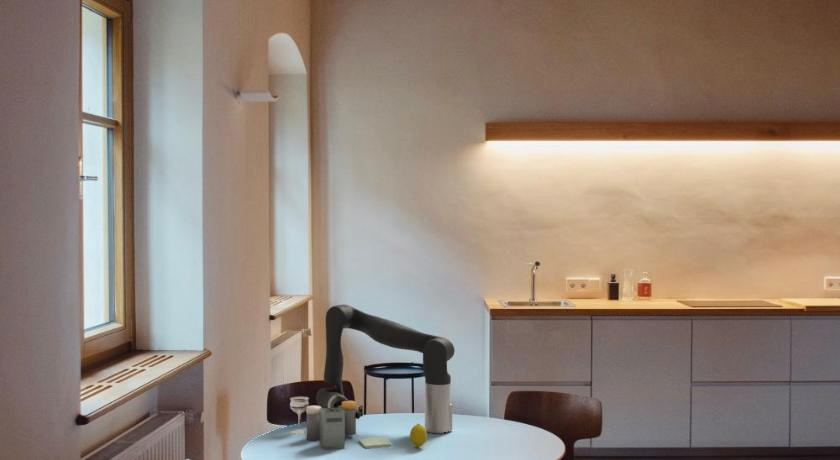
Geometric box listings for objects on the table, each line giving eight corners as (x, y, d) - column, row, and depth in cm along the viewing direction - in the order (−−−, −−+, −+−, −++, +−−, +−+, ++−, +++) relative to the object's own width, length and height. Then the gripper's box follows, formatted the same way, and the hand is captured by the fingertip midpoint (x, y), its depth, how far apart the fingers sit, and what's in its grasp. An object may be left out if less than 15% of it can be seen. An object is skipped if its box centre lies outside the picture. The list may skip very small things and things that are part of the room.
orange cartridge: (354, 431, 275) (354, 400, 275) (357, 434, 270) (357, 403, 270) (340, 432, 273) (340, 401, 273) (343, 436, 269) (343, 404, 269)
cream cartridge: (319, 436, 272) (319, 405, 272) (322, 440, 267) (322, 408, 267) (304, 437, 270) (305, 406, 271) (307, 441, 266) (307, 409, 266)
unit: (339, 442, 265) (339, 405, 265) (344, 448, 257) (345, 410, 257) (319, 444, 262) (319, 406, 262) (323, 450, 255) (324, 411, 255)
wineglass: (312, 432, 279) (313, 398, 279) (297, 435, 274) (298, 401, 274) (300, 428, 283) (300, 395, 283) (285, 432, 278) (286, 398, 278)
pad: (383, 439, 269) (383, 437, 269) (391, 446, 261) (391, 443, 261) (358, 441, 266) (358, 439, 266) (365, 448, 258) (365, 445, 258)
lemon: (424, 450, 256) (425, 426, 256) (408, 449, 257) (408, 425, 257) (428, 446, 261) (428, 422, 261) (411, 445, 262) (412, 421, 262)
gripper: (320, 397, 283) (330, 407, 267) (358, 394, 288) (371, 404, 272) (320, 418, 283) (330, 429, 267) (358, 415, 288) (371, 425, 271)
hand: (350, 416), depth 269 cm, fingers closed on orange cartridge, 4 cm apart
